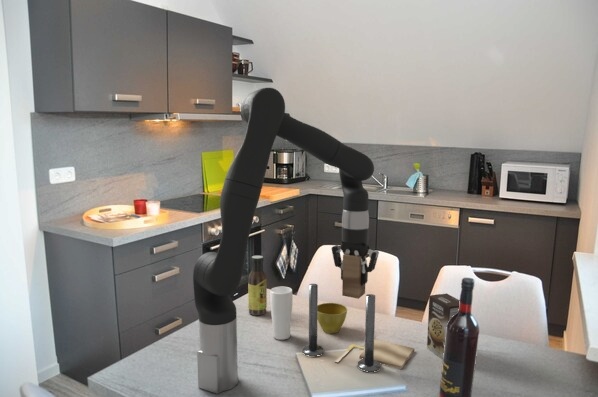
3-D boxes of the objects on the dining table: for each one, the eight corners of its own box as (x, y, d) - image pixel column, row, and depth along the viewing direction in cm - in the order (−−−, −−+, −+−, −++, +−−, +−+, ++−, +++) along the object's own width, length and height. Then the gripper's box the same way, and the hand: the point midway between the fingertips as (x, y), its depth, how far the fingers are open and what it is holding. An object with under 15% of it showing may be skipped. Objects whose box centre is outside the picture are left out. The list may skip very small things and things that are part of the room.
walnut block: (358, 298, 134) (359, 257, 133) (342, 295, 137) (342, 255, 135) (365, 293, 139) (366, 253, 137) (349, 290, 141) (350, 250, 139)
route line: (351, 367, 128) (351, 366, 128) (334, 362, 131) (334, 361, 131) (367, 349, 139) (367, 348, 138) (351, 345, 141) (352, 344, 141)
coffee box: (425, 348, 139) (428, 295, 137) (444, 344, 141) (446, 292, 139) (445, 362, 131) (448, 306, 128) (464, 358, 133) (468, 303, 130)
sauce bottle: (262, 317, 161) (262, 260, 158) (245, 315, 163) (244, 258, 160) (269, 310, 167) (268, 255, 164) (252, 308, 169) (251, 253, 166)
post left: (317, 359, 133) (318, 290, 129) (298, 353, 136) (298, 286, 132) (327, 350, 138) (327, 283, 135) (308, 345, 141) (309, 280, 138)
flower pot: (319, 321, 158) (319, 301, 156) (349, 325, 155) (349, 304, 154) (311, 334, 148) (311, 312, 147) (343, 338, 145) (344, 316, 144)
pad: (401, 369, 127) (401, 366, 127) (359, 358, 133) (359, 355, 133) (414, 350, 137) (414, 348, 137) (374, 341, 143) (374, 339, 143)
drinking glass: (293, 332, 149) (293, 286, 147) (291, 342, 143) (291, 294, 140) (272, 331, 150) (271, 285, 148) (268, 341, 143) (268, 293, 141)
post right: (375, 374, 124) (377, 301, 121) (354, 368, 127) (355, 297, 124) (383, 364, 130) (385, 294, 126) (362, 359, 132) (364, 290, 129)
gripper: (326, 225, 135) (325, 282, 137) (374, 230, 128) (373, 291, 130) (337, 220, 141) (336, 275, 144) (384, 225, 134) (382, 283, 137)
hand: (354, 282), depth 137 cm, fingers closed on walnut block, 5 cm apart
